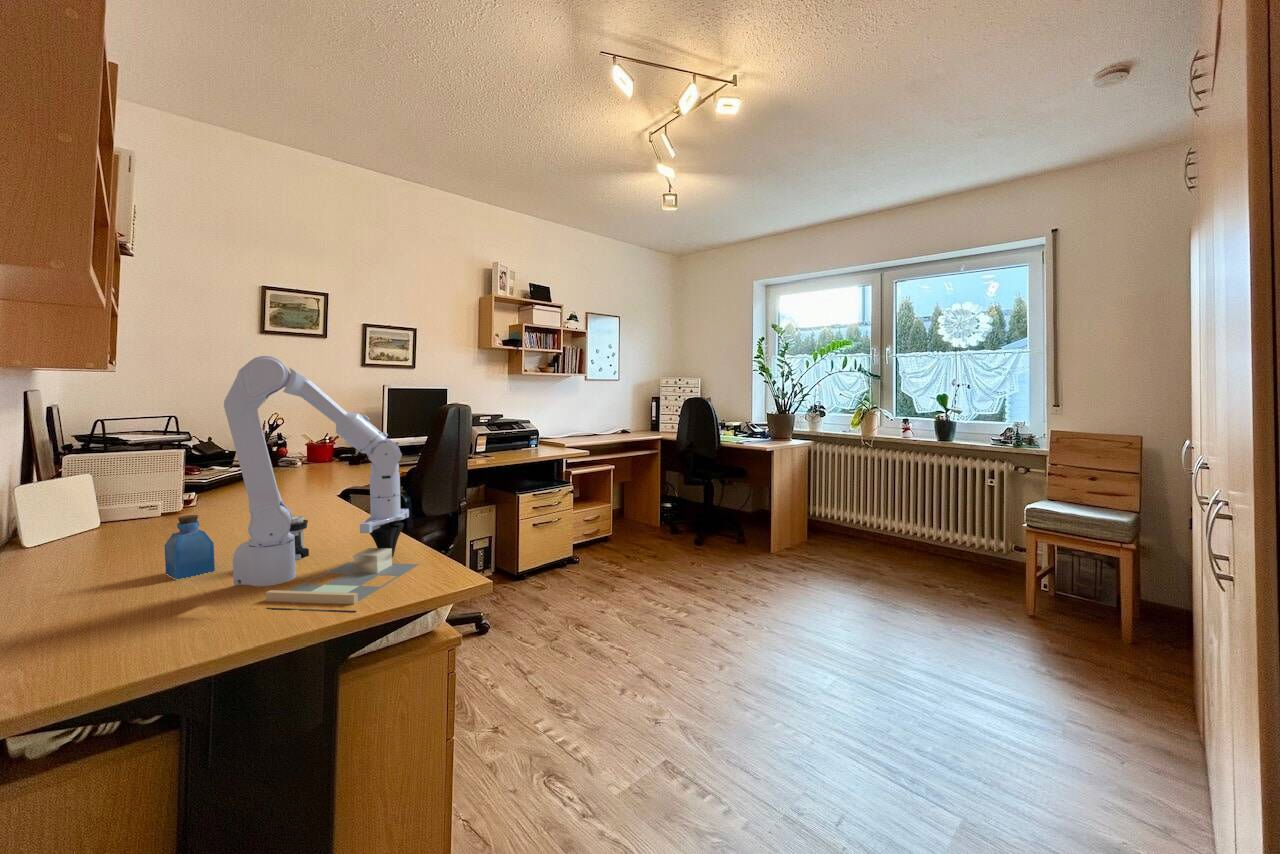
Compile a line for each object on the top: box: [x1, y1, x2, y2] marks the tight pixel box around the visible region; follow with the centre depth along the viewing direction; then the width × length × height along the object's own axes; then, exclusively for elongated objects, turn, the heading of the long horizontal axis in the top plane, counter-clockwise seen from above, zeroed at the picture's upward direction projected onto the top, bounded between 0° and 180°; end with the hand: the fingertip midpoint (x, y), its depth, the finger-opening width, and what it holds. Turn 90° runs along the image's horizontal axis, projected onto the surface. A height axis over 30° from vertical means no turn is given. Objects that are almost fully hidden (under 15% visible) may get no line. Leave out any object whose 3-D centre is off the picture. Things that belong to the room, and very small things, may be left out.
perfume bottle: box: [164, 514, 216, 580], centre depth 104 cm, size 6×6×12 cm
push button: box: [289, 515, 310, 562], centre depth 110 cm, size 7×5×10 cm
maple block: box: [353, 547, 393, 573], centre depth 102 cm, size 5×5×4 cm
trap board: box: [265, 561, 420, 614], centre depth 95 cm, size 16×21×3 cm
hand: (386, 558), depth 107 cm, fingers closed
